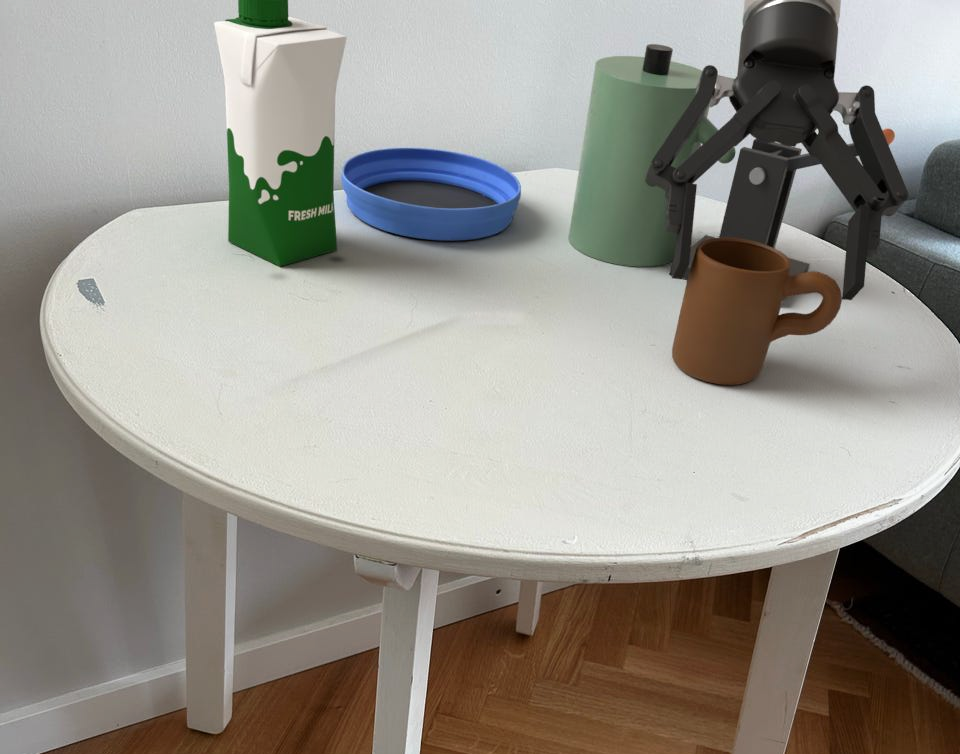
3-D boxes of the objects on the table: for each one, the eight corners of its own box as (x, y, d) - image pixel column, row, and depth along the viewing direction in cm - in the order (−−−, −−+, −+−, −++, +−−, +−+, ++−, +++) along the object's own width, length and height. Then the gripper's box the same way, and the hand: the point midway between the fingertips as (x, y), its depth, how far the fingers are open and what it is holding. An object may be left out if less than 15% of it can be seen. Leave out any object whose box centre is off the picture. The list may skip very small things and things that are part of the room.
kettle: (725, 254, 113) (773, 59, 101) (688, 286, 105) (736, 79, 94) (594, 217, 117) (627, 26, 106) (550, 245, 109) (579, 43, 98)
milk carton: (286, 222, 107) (284, -16, 94) (352, 252, 103) (360, 8, 90) (213, 241, 101) (201, -9, 89) (280, 273, 97) (277, 16, 84)
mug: (816, 369, 94) (852, 259, 88) (811, 408, 88) (849, 293, 82) (676, 338, 95) (702, 229, 89) (662, 375, 90) (688, 260, 84)
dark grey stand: (806, 275, 110) (843, 151, 103) (778, 306, 103) (815, 176, 96) (703, 246, 114) (731, 124, 106) (668, 274, 107) (696, 145, 99)
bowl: (328, 179, 118) (329, 144, 115) (493, 184, 122) (496, 150, 120) (355, 243, 104) (356, 205, 102) (538, 246, 109) (543, 209, 107)
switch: (896, 148, 99) (893, 120, 98) (879, 166, 95) (875, 136, 93) (764, 177, 106) (760, 150, 105) (742, 194, 101) (737, 167, 100)
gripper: (923, 75, 93) (904, 319, 91) (627, 37, 92) (601, 282, 90) (965, 16, 85) (945, 281, 83) (643, -25, 85) (615, 240, 83)
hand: (766, 282), depth 87 cm, fingers open, 13 cm apart
